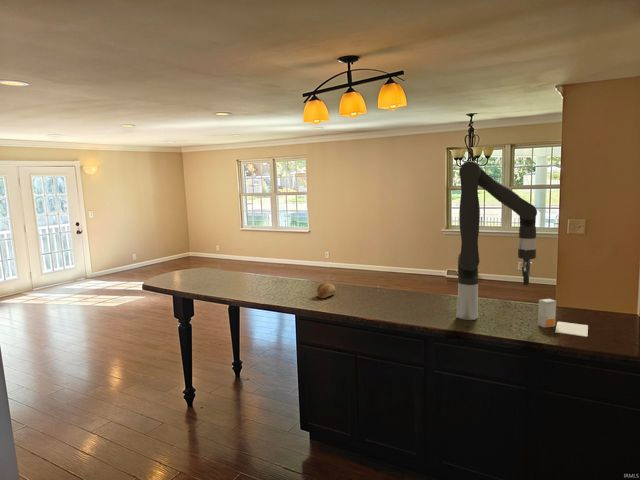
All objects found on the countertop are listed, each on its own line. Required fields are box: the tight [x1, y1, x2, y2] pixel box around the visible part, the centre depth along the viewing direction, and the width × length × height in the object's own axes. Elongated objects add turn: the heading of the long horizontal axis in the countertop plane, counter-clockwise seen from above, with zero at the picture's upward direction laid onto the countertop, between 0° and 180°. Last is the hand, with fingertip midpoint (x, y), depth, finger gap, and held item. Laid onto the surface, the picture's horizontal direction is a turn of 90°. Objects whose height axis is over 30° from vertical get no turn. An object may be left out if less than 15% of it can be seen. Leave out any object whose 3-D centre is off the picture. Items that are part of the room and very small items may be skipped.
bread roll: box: [316, 282, 337, 299], centre depth 257 cm, size 10×15×8 cm, turn 150°
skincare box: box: [537, 298, 557, 328], centre depth 195 cm, size 6×4×12 cm
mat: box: [554, 321, 589, 338], centre depth 190 cm, size 12×16×1 cm
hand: (526, 284), depth 198 cm, fingers closed
